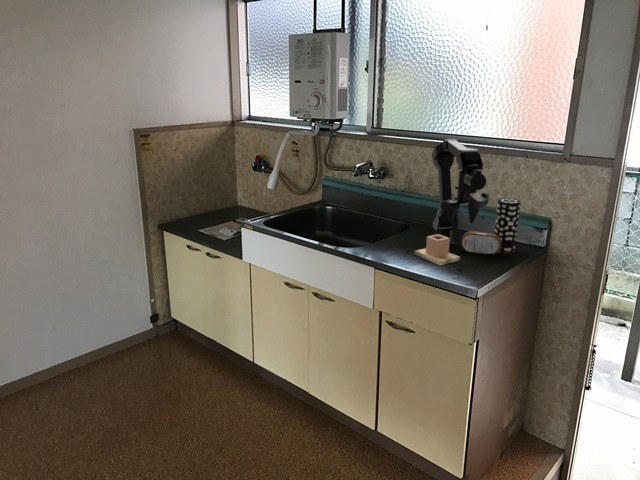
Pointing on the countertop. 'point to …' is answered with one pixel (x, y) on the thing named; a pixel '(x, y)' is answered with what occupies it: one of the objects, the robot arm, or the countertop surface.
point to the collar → (437, 245)
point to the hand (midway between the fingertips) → (462, 225)
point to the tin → (481, 242)
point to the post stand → (437, 260)
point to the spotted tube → (507, 223)
